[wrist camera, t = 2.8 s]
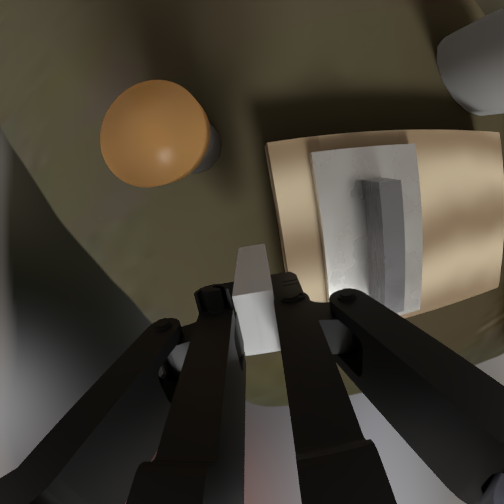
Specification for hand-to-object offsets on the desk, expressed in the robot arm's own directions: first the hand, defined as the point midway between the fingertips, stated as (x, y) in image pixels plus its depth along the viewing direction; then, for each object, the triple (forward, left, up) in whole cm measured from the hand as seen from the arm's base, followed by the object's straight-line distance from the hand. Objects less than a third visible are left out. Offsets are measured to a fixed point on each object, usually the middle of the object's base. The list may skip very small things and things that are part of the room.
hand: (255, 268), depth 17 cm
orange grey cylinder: (-8, -3, -6) cm, 10 cm away
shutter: (0, +8, -2) cm, 8 cm away
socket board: (0, +12, -5) cm, 13 cm away
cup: (-13, +23, -6) cm, 27 cm away
